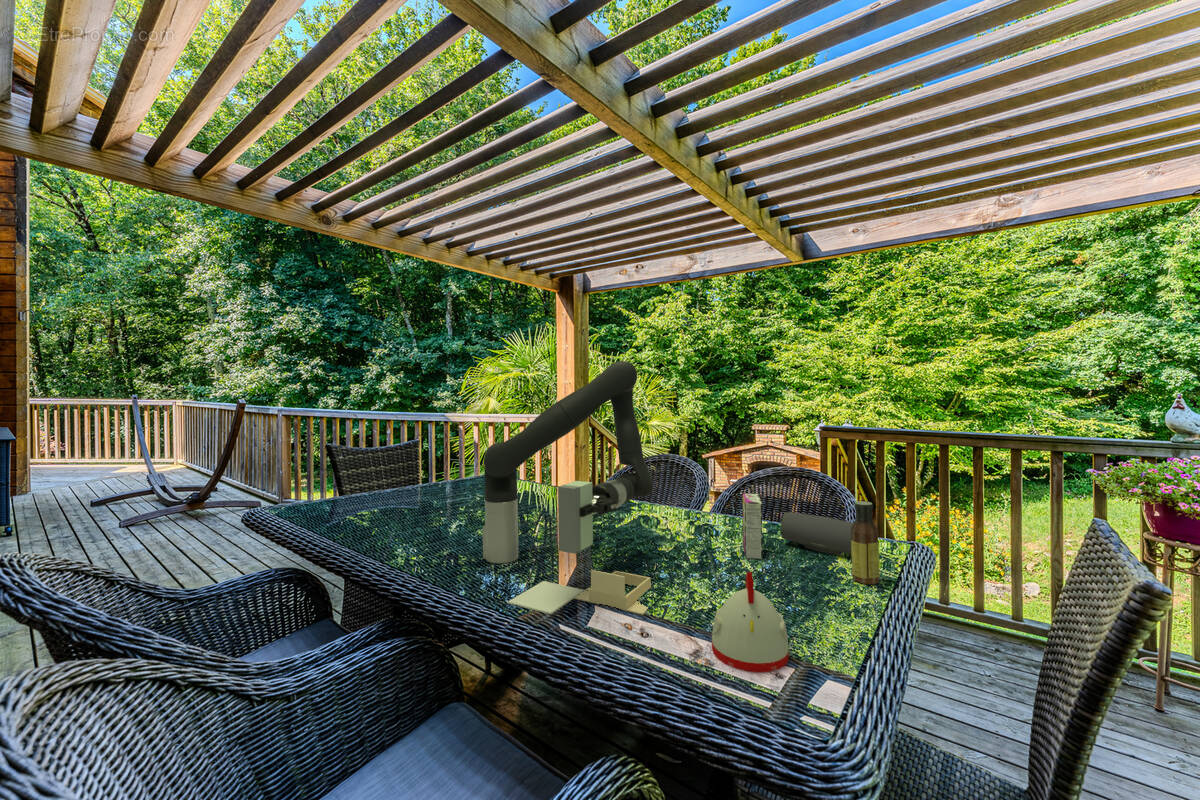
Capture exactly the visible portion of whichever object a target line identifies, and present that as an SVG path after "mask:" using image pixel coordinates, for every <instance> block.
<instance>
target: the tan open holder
mask: <svg viewBox="0 0 1200 800" xmlns="http://www.w3.org/2000/svg"><path fill="white" fill-rule="evenodd" d="M651 580H652V578H651V577H650V576H649V577H648V576H643V575H639V574H634V573H630V572H624V571H618V570H614V571H613V572H611V573H609V572H604V571H599V570H594V569H591V570H590V584H591V585H590V586H589V587H587V588H586V589H583V590H584V592H581V593H580V594H579V595H577V596H576V597H574V599H575V600H579V601H583V602H586V601H587V603H590V604H591V603H592V604H595V603H596V604H595V605H599V604H603V605H608V606H611V607H610V608H612V607H616V608H619V609H618V610H620V609H621V610H622V611H625V612H630V613H633V614H638V615H642V616H643V615H644V614H646V612H647V611H648V610H649V609H648V607H646V606H644V605H643V604H642V605H641V604H640V603H639V602H638V601H637V600H638V599H639V597H641V595H643V594H644V593H645V592H646V591H647V590H648V589H650V588H651V589H652V587H651V582H652V581H651ZM625 584H628V585H634V586H637V587H636V588H635V587H634V588H633V589H632V590H631V591H630V592H628V593H627V594H626V586H625ZM590 587H591V588H590ZM586 590H588V591H586ZM574 599H573V600H574ZM638 603H639V604H638ZM603 605H602V606H603ZM608 606H607V607H608ZM616 608H615V609H616ZM647 609H648V610H647Z"/></svg>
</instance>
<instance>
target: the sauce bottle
mask: <svg viewBox="0 0 1200 800" xmlns="http://www.w3.org/2000/svg"><path fill="white" fill-rule="evenodd" d="M873 509H874V506H873V503H872V502H870V501H863V500H860V501H855V502H854V510H855V520H854V522H853V523H854V524H853V525H852V527H851V554H850V555H851V573H852V579H853V580H854V581H856V582H857V583H860V584H864V585H877V584H879V582H880V575H881V574H880V547H879V545H880V543H879V533H878V532H879V530H878V527H877V526H876V524H875V522H874V520H873Z"/></svg>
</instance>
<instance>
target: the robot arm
mask: <svg viewBox="0 0 1200 800" xmlns="http://www.w3.org/2000/svg"><path fill="white" fill-rule="evenodd" d="M637 380H638V371H637V368H636V367H635V365H634V364H632V363H631V362H630V361H626V360H618V361H616V362H613V363H611V364H610V365H609V366H608V367H607V368H605V370H604V371H602V372H601V373H600V374H599V375H597V376H596V377H595V378H593V380H591V381H590V382H589V383H587V384H585V385H584V386H582V387H579V388H578V389H576V390H574V391H573V392H571V393H570V394H568V395H567V396H565V397H563V398H561V399H559V400H558V401H556V402H555V403H554V404H552V405H551V406H549V407H548V408H546V409H545V410H544V411H543V412H541V413H539V415H538V416H537V417H536V418H535V419H534V420H532V421H531V422H530V423H529V424H528V426H526V427H525V428H523V429H522V431H520V432H519V433H517V434H516V435H514V436H513V437H511V438H508V439H507V440H505V441H503V442H495V443H493V444H491V445H489V447H488V448H487V449H486V451H485V453H484V457H483V465H484V467H483V468H484V469H483V470H484V518H485V519H484V520H485V521H484V522H485V523H484V525H483V526H482V556H483V558H482V559H484V560H485V561H487V562H488V563H491V564H507V563H511V562H514V561H516V560H518V558H519V517H518V516H519V513H518V512H519V511H518V510H519V509H518V506H519V505H518V478H517V477H518V475H517V474H518V471H517V469H518V468H519V467H520V466H522V465H523V464H524V463H525V462H527V460H529V459H530V458H531V457H532V456H534V455H535V454H537V453H538V452H540V451H542V450H543V449H545V448H547V447H548V446H550V445H551V444H554V443H555V442H556V441H558V440H559V439H561V438H563V437H564V436H566V435H568V434H569V433H570V432H572V431H573V430H575V429H576V428H577V427H579V426H581V424H582V423H584V422H585V421H586V420H587V419H588V418H589V417H591V415H593V414H594V413H595V412H596V411H597V410H598V409H599V408H600V407H601V406H602V405H604V404H605V403H607V402H608V401H610V403H611V407H612V411H613V417H614V427H615V436H616V446H617V454H618V460H619V463H620V464H621V465H622V466H623V465H624V466H631V467H632V468H633V470H634V472H630V473H629V472H628V473H623V474H620V475H618V476H617V477H616V478H615V479H612V480H606V481H603V482H601V483H598V484H595V485H592V503H590V505H589V504H588V505H585V506H583V507H581V508H580V517H584V516H587V515H589V514H592V515H595V514H597V515H599V516H602V515H606V514H609V513H612V512H616V511H617V509H618V508H620V507H621V506H622V505H623V504H626V503H628V502H630V501H631V500H632V499H633V498H640V497H641V498H643V497H648V496H650V495H651V494H652V492H653V489H654V481H653V478H652V475H651V473H650V470H649V468H648V466H647V463H646V461H645V458H644V454H643V445H642V439H641V434H640V429H639V426H638V423H637V418H636V414H635V409H634V387H635V385H636V383H637Z"/></svg>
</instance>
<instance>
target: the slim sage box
mask: <svg viewBox="0 0 1200 800" xmlns="http://www.w3.org/2000/svg"><path fill="white" fill-rule="evenodd" d="M592 487H593V481H583V480H574V481H571V482H569V483H566V484H562V485H560V486H557V500H558V501H557V511H558V512H557V513H558V514H557V515H558V516H557V521H558V523H557V524H558V526H557V527H558V535H557V537H558V552H562V553H569V554H575V555H576V554H578V553H579V552H581V551H583V550H584V549H585V550H586V549H587V548H588V547H590V546H592V545H593V544H594V541H593V540H594V537H593V535H594V529H593V528H594V527H593V526H594V524H593V515H594V514H593V515H592V514H589V515H587V516H584V517H580V508H581V507H583V506H585V505H588V504H589V505H590V503H592Z"/></svg>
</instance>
